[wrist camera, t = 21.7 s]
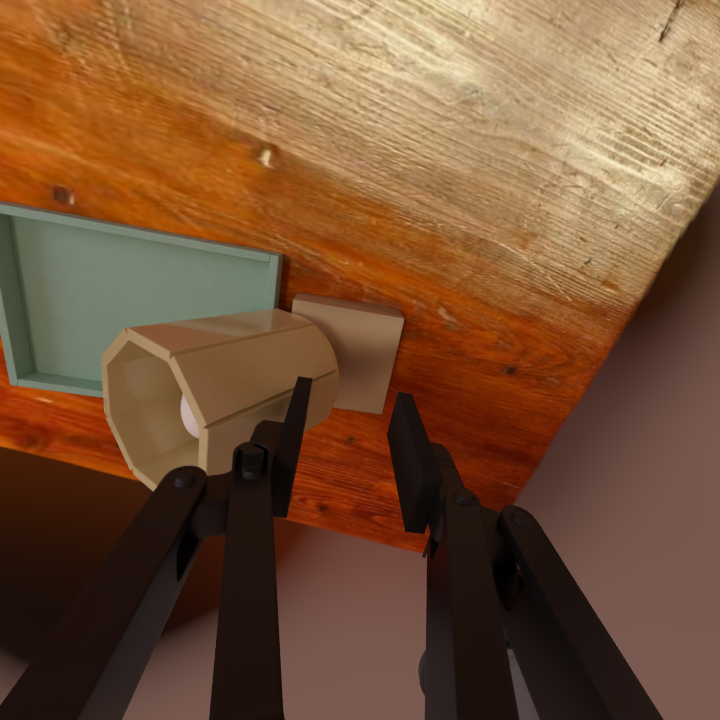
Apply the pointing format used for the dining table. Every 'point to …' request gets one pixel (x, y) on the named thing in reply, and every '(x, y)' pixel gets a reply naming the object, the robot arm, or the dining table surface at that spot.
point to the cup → (210, 386)
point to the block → (356, 346)
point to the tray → (109, 289)
